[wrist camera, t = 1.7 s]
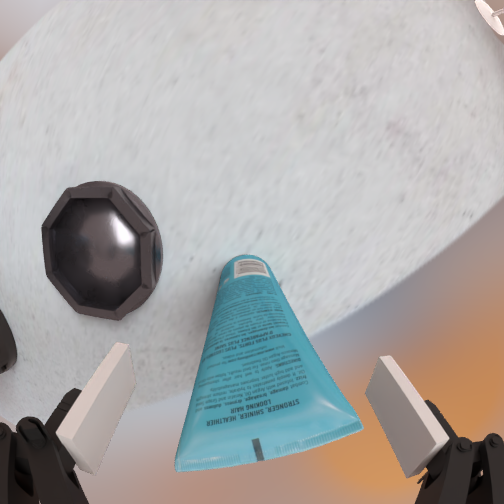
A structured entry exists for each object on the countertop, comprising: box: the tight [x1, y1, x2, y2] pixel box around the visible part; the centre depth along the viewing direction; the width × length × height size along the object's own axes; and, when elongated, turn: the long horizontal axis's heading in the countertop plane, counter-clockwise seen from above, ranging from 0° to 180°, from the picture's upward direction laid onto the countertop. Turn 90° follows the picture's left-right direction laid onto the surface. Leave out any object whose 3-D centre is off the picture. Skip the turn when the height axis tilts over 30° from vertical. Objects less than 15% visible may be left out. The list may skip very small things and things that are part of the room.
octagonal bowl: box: [41, 181, 163, 321], centre depth 24 cm, size 14×14×2 cm
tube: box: [175, 255, 364, 472], centre depth 17 cm, size 7×5×19 cm, turn 116°
